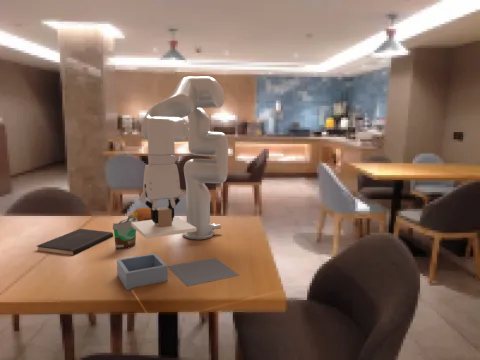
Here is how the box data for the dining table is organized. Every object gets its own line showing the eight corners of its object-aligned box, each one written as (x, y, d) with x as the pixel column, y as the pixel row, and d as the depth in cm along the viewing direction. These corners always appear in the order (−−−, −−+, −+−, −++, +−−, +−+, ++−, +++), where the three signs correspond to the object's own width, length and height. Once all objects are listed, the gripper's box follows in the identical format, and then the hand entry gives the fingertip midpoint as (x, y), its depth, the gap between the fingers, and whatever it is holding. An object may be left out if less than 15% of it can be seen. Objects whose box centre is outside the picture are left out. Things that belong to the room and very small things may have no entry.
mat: (215, 258, 133) (215, 257, 133) (239, 276, 118) (239, 275, 118) (167, 267, 124) (167, 266, 124) (187, 288, 110) (187, 286, 110)
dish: (155, 268, 124) (155, 253, 123) (167, 282, 114) (167, 265, 113) (117, 275, 118) (116, 259, 118) (126, 290, 108) (126, 273, 107)
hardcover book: (36, 251, 139) (36, 245, 139) (80, 233, 161) (80, 228, 161) (73, 257, 135) (73, 250, 134) (113, 237, 156) (113, 232, 156)
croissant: (131, 224, 183) (128, 207, 181) (164, 218, 186) (161, 202, 184) (129, 232, 169) (126, 214, 167) (165, 225, 172) (162, 208, 170)
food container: (129, 251, 139) (128, 224, 137) (113, 250, 140) (112, 223, 138) (144, 241, 151) (143, 216, 149) (129, 240, 152) (128, 215, 150)
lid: (177, 219, 125) (177, 201, 124) (196, 231, 113) (196, 211, 112) (131, 225, 118) (130, 206, 117) (146, 238, 105) (145, 217, 104)
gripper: (183, 158, 120) (184, 215, 122) (129, 160, 111) (131, 222, 114) (193, 160, 113) (193, 220, 116) (136, 163, 105) (138, 228, 108)
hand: (162, 220), depth 115 cm, fingers closed on lid, 4 cm apart
